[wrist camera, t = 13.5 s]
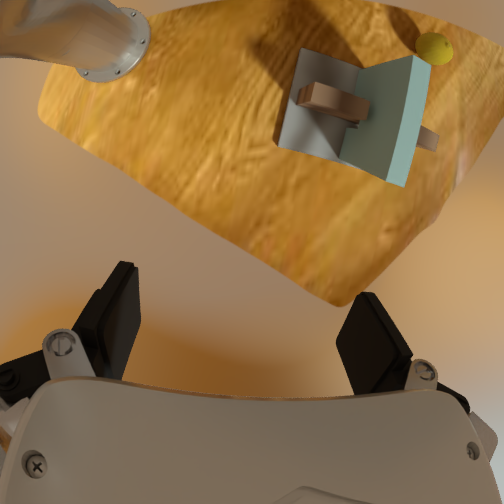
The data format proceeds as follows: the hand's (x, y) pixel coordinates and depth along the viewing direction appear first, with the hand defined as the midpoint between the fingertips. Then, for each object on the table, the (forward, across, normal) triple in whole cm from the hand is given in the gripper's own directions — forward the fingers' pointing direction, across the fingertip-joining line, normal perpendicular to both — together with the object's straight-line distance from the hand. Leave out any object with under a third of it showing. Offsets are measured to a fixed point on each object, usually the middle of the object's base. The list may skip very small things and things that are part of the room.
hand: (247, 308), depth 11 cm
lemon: (+30, -24, -27) cm, 47 cm away
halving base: (+30, -15, -12) cm, 35 cm away
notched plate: (+29, -15, -12) cm, 34 cm away
